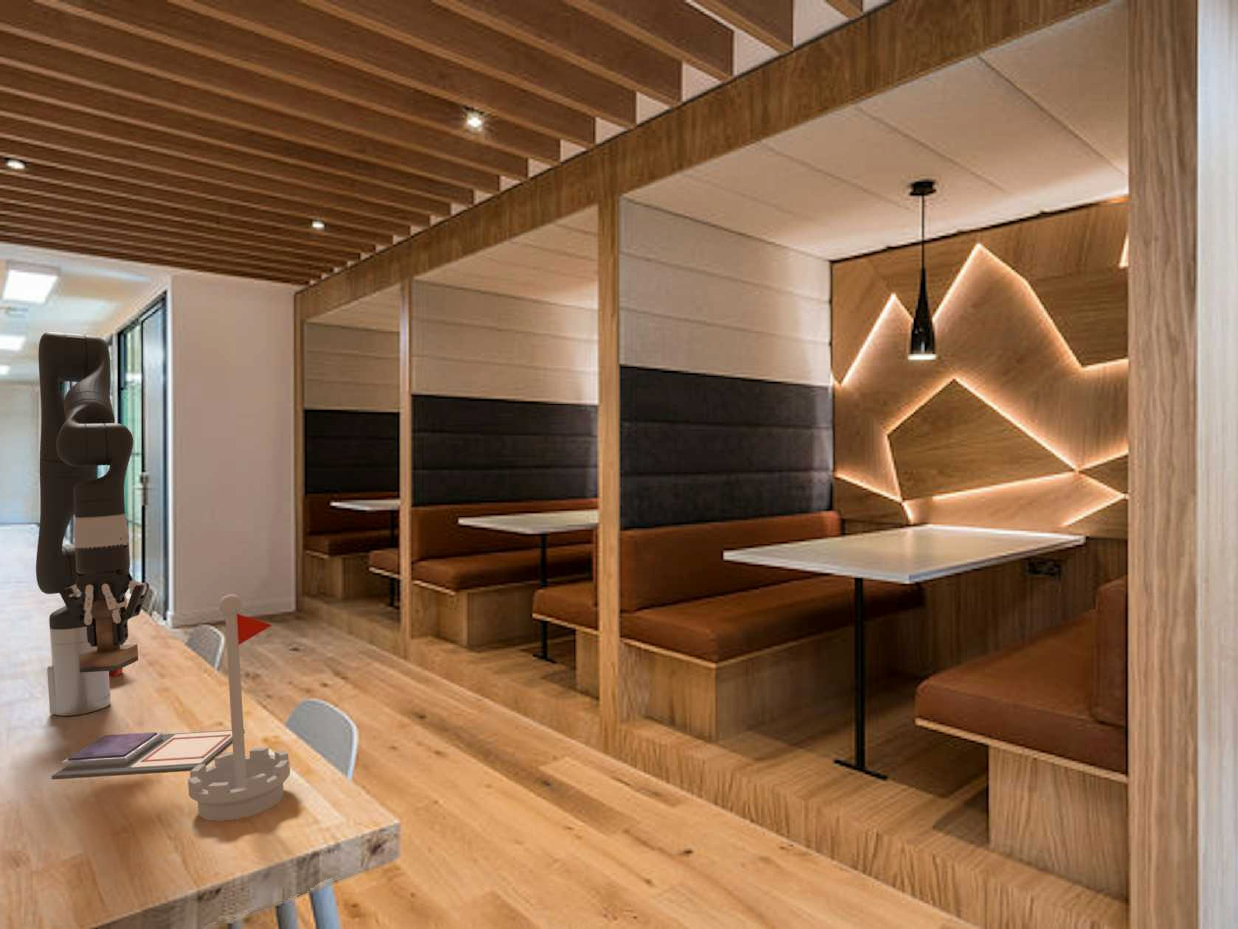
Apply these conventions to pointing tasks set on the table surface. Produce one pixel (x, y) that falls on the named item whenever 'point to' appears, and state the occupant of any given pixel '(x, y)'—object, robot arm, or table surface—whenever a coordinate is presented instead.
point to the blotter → (165, 755)
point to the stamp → (106, 644)
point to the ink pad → (112, 750)
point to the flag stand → (238, 745)
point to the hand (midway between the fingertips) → (108, 644)
